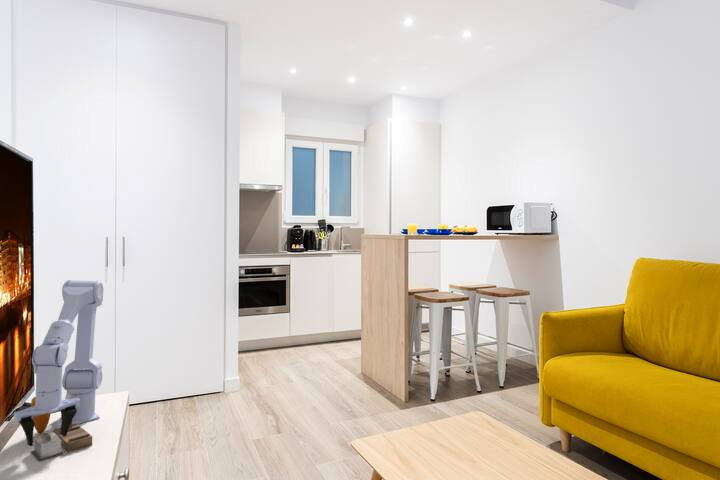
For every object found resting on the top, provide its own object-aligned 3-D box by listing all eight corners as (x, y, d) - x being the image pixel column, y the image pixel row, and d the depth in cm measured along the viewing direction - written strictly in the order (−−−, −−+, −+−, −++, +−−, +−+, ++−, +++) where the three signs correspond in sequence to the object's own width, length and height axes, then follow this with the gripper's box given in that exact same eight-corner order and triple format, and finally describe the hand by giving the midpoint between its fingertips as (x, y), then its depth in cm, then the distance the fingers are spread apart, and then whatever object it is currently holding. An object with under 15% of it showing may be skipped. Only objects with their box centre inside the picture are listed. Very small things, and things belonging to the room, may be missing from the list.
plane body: (52, 438, 128) (53, 417, 128) (76, 431, 132) (76, 411, 132) (67, 452, 120) (68, 430, 120) (92, 445, 125) (92, 423, 125)
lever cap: (34, 451, 120) (34, 435, 120) (53, 445, 123) (54, 429, 123) (40, 459, 116) (41, 442, 116) (60, 453, 119) (61, 437, 119)
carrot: (32, 432, 131) (34, 381, 131) (52, 429, 133) (54, 379, 133) (27, 439, 126) (29, 386, 126) (48, 437, 128) (50, 385, 128)
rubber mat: (30, 452, 120) (30, 451, 120) (54, 445, 124) (54, 444, 124) (38, 461, 115) (39, 460, 115) (63, 454, 119) (63, 452, 119)
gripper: (20, 400, 111) (18, 454, 111) (84, 386, 122) (83, 435, 122) (12, 393, 116) (10, 445, 116) (75, 380, 127) (73, 427, 127)
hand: (47, 439), depth 119 cm, fingers open, 7 cm apart
